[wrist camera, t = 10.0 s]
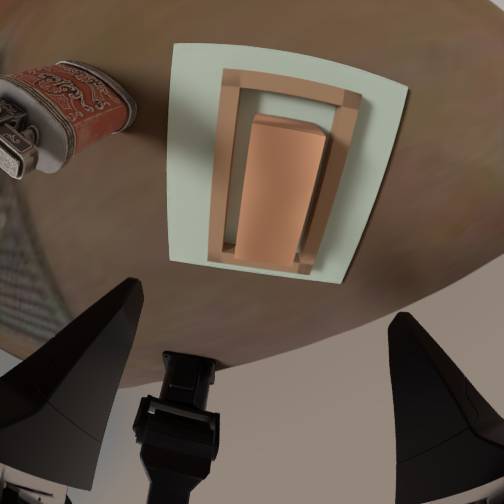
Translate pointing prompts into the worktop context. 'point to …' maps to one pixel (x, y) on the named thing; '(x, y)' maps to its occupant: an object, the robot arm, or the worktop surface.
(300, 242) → the mat
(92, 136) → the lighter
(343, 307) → the worktop surface
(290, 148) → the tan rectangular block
